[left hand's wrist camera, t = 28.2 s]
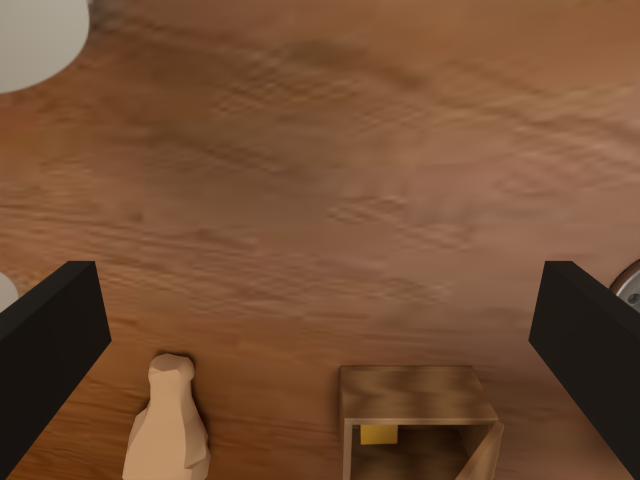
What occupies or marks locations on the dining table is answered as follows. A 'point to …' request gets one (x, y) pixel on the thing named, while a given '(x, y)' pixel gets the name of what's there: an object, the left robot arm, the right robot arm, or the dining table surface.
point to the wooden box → (412, 420)
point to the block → (378, 434)
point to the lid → (484, 457)
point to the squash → (168, 427)
